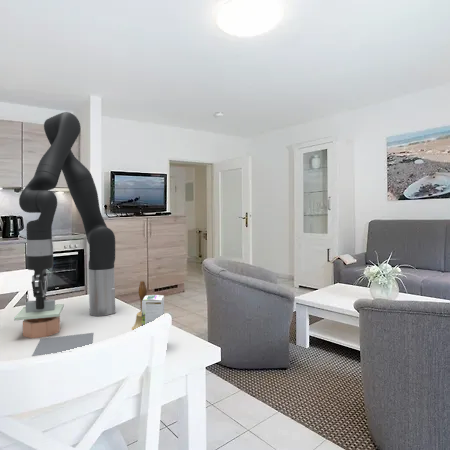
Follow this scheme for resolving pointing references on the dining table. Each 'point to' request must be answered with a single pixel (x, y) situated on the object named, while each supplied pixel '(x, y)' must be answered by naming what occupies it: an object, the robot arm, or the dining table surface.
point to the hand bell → (141, 294)
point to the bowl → (41, 327)
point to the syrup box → (152, 308)
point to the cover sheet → (40, 314)
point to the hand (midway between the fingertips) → (41, 307)
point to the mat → (62, 343)
